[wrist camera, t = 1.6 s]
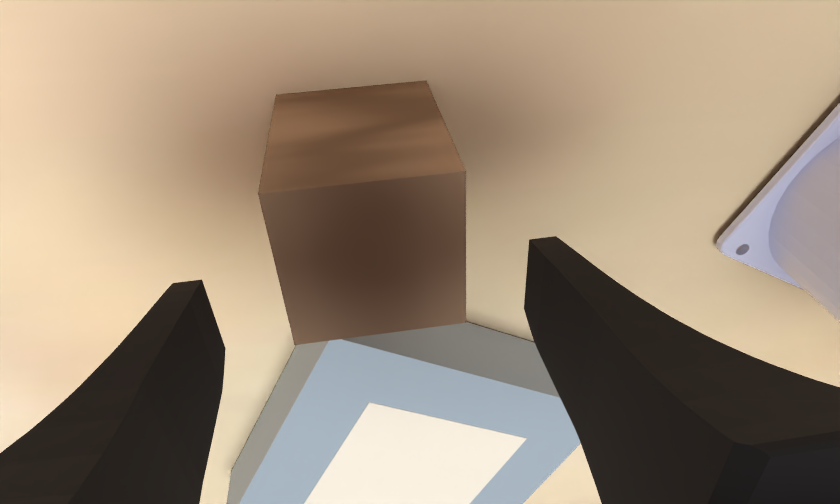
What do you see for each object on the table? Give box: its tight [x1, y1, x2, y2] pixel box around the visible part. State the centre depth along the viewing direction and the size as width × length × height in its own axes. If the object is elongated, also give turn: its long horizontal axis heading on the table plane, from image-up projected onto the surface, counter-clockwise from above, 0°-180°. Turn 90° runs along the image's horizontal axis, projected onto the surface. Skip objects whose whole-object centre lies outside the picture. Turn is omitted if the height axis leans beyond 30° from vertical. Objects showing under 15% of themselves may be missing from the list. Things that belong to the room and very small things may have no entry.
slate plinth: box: [227, 322, 581, 504], centre depth 25 cm, size 12×12×3 cm
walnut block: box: [258, 81, 466, 345], centre depth 16 cm, size 4×4×6 cm
